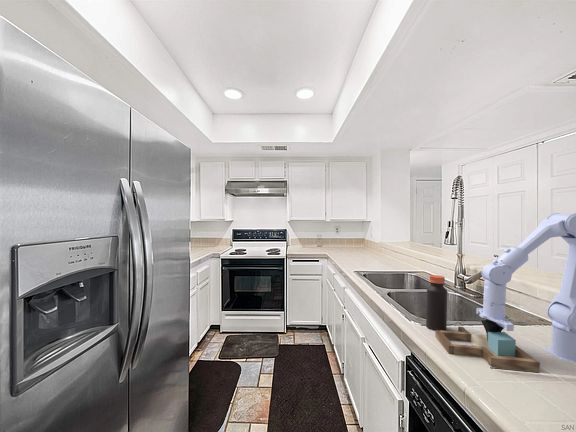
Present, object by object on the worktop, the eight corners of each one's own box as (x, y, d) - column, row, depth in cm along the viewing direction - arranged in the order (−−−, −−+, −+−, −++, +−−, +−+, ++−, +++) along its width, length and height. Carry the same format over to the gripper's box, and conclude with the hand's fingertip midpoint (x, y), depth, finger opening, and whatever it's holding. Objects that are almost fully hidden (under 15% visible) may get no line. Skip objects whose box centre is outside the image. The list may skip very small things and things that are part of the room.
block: (504, 346, 90) (504, 331, 90) (515, 356, 85) (515, 340, 85) (487, 346, 90) (487, 331, 90) (497, 355, 85) (498, 340, 85)
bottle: (448, 329, 106) (449, 276, 106) (443, 334, 101) (444, 279, 101) (429, 324, 111) (430, 273, 111) (423, 329, 106) (424, 276, 106)
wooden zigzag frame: (494, 337, 100) (494, 329, 100) (539, 373, 77) (539, 362, 77) (430, 332, 103) (430, 324, 103) (456, 365, 81) (456, 354, 81)
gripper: (468, 294, 98) (466, 333, 98) (497, 309, 84) (495, 354, 84) (488, 295, 98) (487, 334, 98) (521, 310, 83) (519, 356, 83)
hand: (492, 344), depth 91 cm, fingers closed, pressing on block
